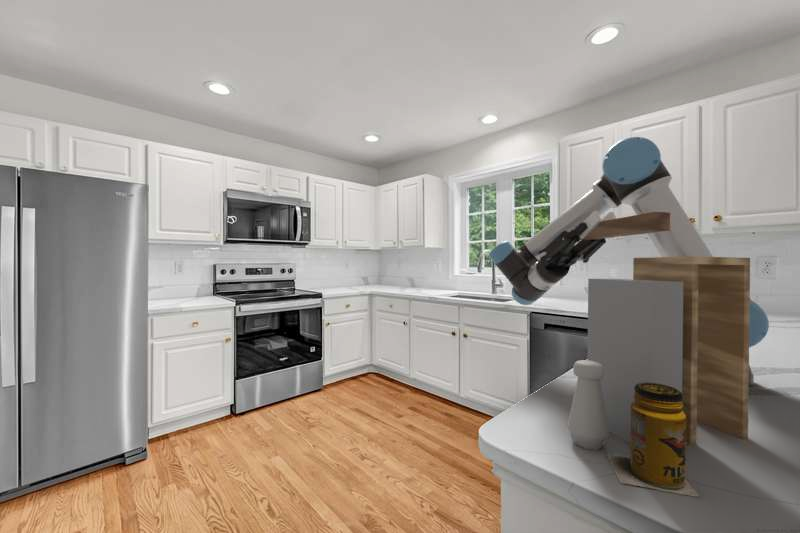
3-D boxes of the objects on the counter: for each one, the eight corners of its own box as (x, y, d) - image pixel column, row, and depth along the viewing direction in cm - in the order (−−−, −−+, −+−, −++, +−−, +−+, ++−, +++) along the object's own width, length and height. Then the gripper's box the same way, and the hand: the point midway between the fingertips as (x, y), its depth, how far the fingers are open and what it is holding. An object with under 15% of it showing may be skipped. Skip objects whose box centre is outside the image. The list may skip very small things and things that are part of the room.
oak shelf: (682, 411, 70) (684, 259, 70) (748, 438, 59) (750, 257, 59) (631, 416, 67) (633, 257, 67) (690, 444, 57) (692, 256, 57)
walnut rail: (587, 240, 84) (587, 226, 84) (669, 230, 63) (670, 212, 64) (574, 239, 83) (575, 226, 84) (654, 229, 63) (654, 211, 63)
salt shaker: (614, 455, 53) (615, 368, 53) (573, 450, 54) (574, 365, 54) (600, 436, 59) (601, 358, 59) (563, 433, 60) (564, 356, 60)
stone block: (613, 415, 68) (615, 278, 68) (681, 449, 55) (683, 281, 55) (586, 417, 66) (588, 278, 67) (649, 453, 54) (651, 281, 54)
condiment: (699, 498, 44) (700, 399, 44) (620, 484, 46) (621, 391, 46) (674, 466, 51) (675, 381, 51) (606, 456, 53) (607, 375, 53)
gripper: (579, 283, 96) (646, 232, 76) (524, 282, 93) (578, 228, 73) (571, 259, 99) (631, 204, 80) (517, 258, 96) (566, 200, 77)
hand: (606, 216), depth 76 cm, fingers closed on walnut rail, 3 cm apart
